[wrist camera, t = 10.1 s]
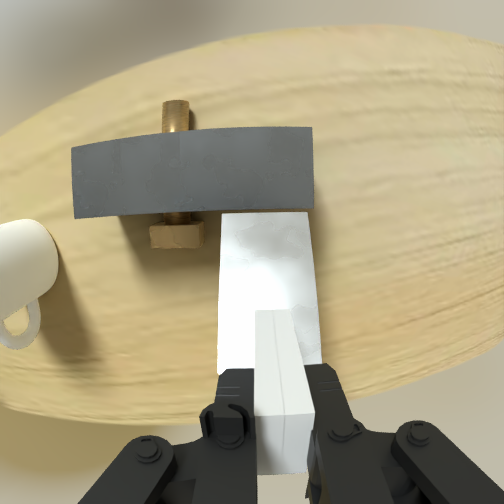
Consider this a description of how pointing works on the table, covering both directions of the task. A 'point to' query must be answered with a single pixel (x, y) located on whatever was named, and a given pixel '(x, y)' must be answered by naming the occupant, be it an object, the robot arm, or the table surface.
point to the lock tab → (265, 283)
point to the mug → (24, 275)
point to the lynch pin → (176, 223)
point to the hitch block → (195, 172)
